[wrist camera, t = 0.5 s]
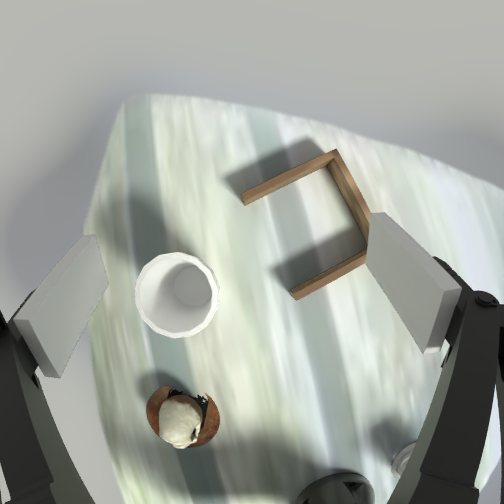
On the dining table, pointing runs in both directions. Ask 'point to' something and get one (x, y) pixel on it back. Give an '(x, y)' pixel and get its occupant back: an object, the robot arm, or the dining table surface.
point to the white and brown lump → (182, 418)
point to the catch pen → (352, 199)
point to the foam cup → (177, 294)
